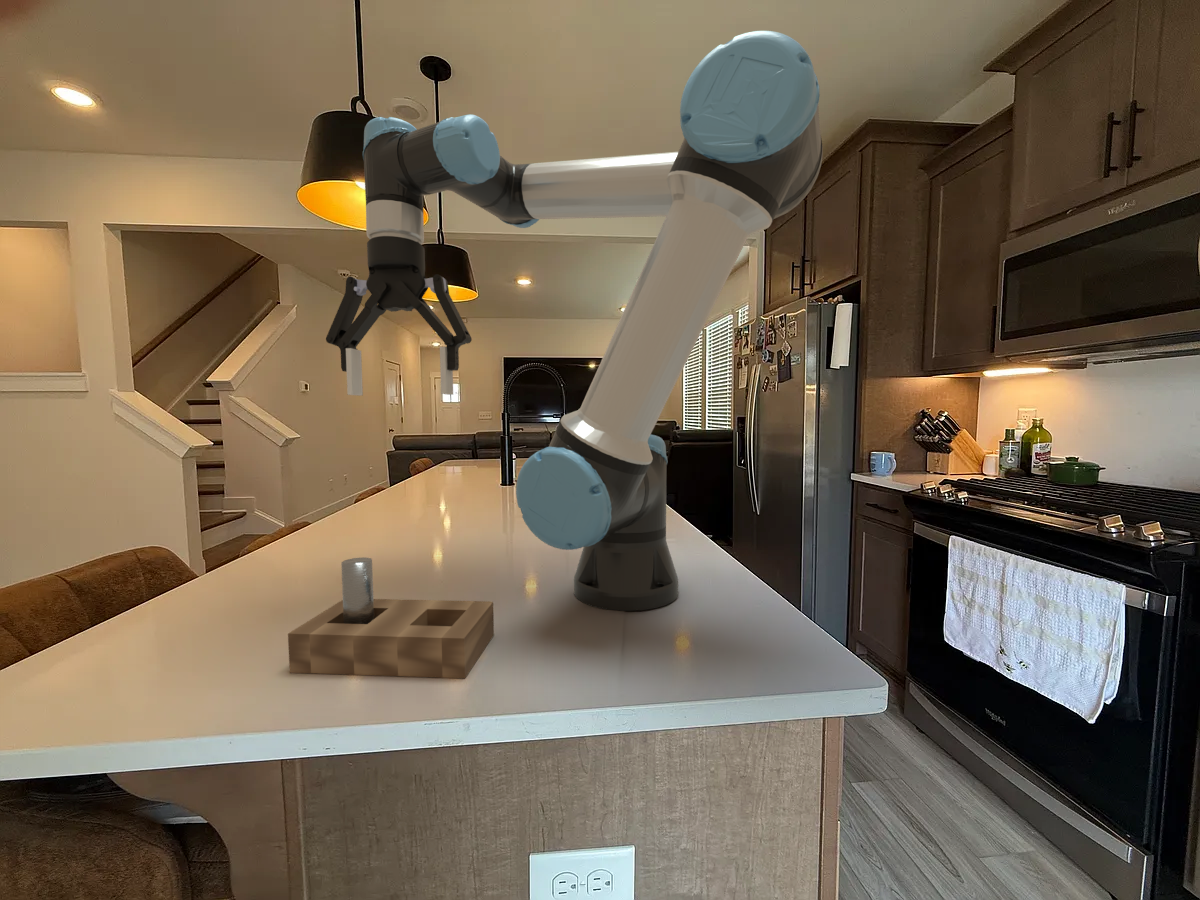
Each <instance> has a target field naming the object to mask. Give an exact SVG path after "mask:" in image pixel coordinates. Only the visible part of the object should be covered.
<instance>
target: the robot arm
mask: <svg viewBox="0 0 1200 900" xmlns="http://www.w3.org/2000/svg"><path fill="white" fill-rule="evenodd" d="M685 83H686V84H685V86H684V89H683V92H682V95H681V100H680V105H679V114H680V117H679V119H680V123H679V124H680V129H681V131H682V135H683V141H682V143H681V144H680V147H679V149H678V151H672V152H657V153H645V154H632V155H620V156H609V157H607V156H606V157H596V158H595V157H594V158H585V159H584V158H581V159H572V160H559V161H557V160H556V161H546V162H545V161H544V162H536V163H534V162H533V163H519V164H518V163H516V164H514V163H511V162H510V161H508V160H507V159H505V158H504V157H502V156H501V154H500V147H499V145H498V141H497V138H496V136H495V134H494V132H492V131H491V130H490V127H489V124H488V123H487V122H486V121H485V120H484V119H483V118H481V117H479V116H478V115H475V114H472V113H471V114H465V115H461V116H457V117H453V116H451V117H448V118H446V117H445V118H444V119H442V120H440V121H438V122H434V123H432V124H429V125H425V126H423V127H420V128H418V129H417V128H416V127H415V126H414V125H413V124H411V123H410V122H408V121H406V120H403V119H401V118H397V117H393V116H389V117H388V118H387V117H382V116H378V117H375V118H372V119H370V120H369V121H368V122H367V123H366V125H365V126H364V131H363V151H362V159H363V168H364V169H363V170H364V172H363V173H364V191H365V195H364V196H365V225H366V226H365V227H366V237H367V238H368V239H369V240H368V241H367V243H366V249H367V253H366V254H367V256H366V257H367V267H368V272H369V273H368V277H367V279H366V280H365V279H357V278H355V277H353V276H348V277H347V278H346V280H345V290H344V291H345V292H344V295H343V297H342V299H341V302H340V304H339V306H338V309H337V311H336V313H335V316H334V319H333V321H332V323H331V325H330V328H329V330H328V333H327V335H326V338H325V341H326V343H328V344H330V345H333V346H336V347H338V348H339V351H340V368H341V371H342V372H345V373H346V388H347V395H348V396H359V397H360V396H363V394H364V391H363V369H362V368H363V367H362V366H363V365H362V362H363V361H362V350H360V349H358V348H357V347H358V345H360V343H361V341H362V340H363V339H364V337H365V336H366V335H367V333H368V332H369V331H370V329H372V327H373V326H374V325H375V323H376V322H377V320H378V319H379V318H380V317H381V316H382V315H384V314H385V313H386V311H388V312H399V311H404V312H412V311H413V310H416V311H417V313H418V314H419V315H420V316H421V317H422V319H424V320H425V322H426V323H427V324H428V325H429V326H430V327H431V329H433V331H434V333H436V335H437V336H438V337H439V338H440V339H441V341H442V342H443V343H444V346H439V363H440V364H439V367H440V369H439V371H440V394H441V395H451V396H452V395H454V373H453V372H455V371H459V368H460V361H459V359H460V357H459V355H460V354H459V353H460V351H459V350H460V347H461V346H464V345H466V344H468V345H469V344H470V343H472V340H473V339H472V336H471V334H470V332H469V331H468V328H467V326H466V324H465V322H464V320H463V319H462V316H461V315H460V313H459V311H458V309H457V306H456V304H455V303H454V301H453V299H452V296H451V294H450V290H449V282H448V280H447V279H446V278H444V277H443V276H442V275H440V274H438V273H436V274H434V275H433V276H432V277H429V278H426V275H425V272H426V261H425V258H426V255H425V254H426V253H425V252H426V251H425V250H426V249H425V247H424V246H423V244H424V242H425V234H424V233H425V229H424V228H425V227H424V226H425V225H424V196H429V195H433V194H439V193H442V192H445V191H451V192H452V193H455V194H456V195H458V196H460V197H462V198H464V200H467V201H468V202H470V203H471V204H474V205H476V206H477V207H480V208H481V209H483V210H485V211H486V212H487V213H490V214H492V215H493V216H494V217H496V218H498V219H499V220H500V221H502V222H503V223H505V224H507V225H511V226H514V227H516V228H520V229H526V228H531V226H533V225H534V224H536V223H537V222H538V221H539V220H560V219H563V220H565V219H606V218H607V219H609V218H610V219H611V218H650V217H651V218H653V217H654V218H656V217H658V218H659V217H660V218H661V217H662V218H663V217H665V219H664V220H663V223H662V225H661V228H660V230H659V232H658V234H657V235H656V239H655V241H654V243H653V246H652V247H651V250H650V252H649V254H648V256H647V258H646V260H645V264H644V265H643V267H642V270H641V272H640V274H639V277H638V278H637V281H636V283H635V285H634V288H633V289H632V292H631V294H630V297H629V298H628V302H626V305H625V307H624V310H623V312H622V314H621V316H620V319H619V320H618V323H617V325H616V327H615V330H614V332H613V334H612V336H611V339H610V341H609V343H608V345H607V348H606V350H605V352H604V355H603V357H602V358H601V361H600V363H599V366H598V368H597V370H596V372H595V374H594V377H593V379H592V381H591V383H590V385H589V387H588V390H587V392H586V394H585V396H584V399H583V401H582V403H581V406H580V408H578V410H574V411H572V412H568V413H566V414H564V415H563V416H561V418H560V421H559V423H558V425H557V428H556V429H555V432H554V434H553V436H552V439H551V440H550V443H549V445H548V446H546V447H544V448H542V449H540V450H538V451H536V452H534V453H533V454H532V455H530V456H529V457H528V458H527V460H526V461H525V462H524V463H523V465H522V466H521V468H520V470H519V472H518V475H517V479H516V487H515V496H516V503H517V507H518V508H520V509H519V510H520V512H521V514H522V516H521V518H522V519H523V521H524V523H525V525H526V526H527V528H528V529H529V530H530V531H531V533H532V534H533V535H534V536H535V537H536V538H538V539H539V540H540V541H542V542H543V543H544V544H546V545H547V546H550V547H552V548H555V549H559V550H563V551H564V550H568V551H569V550H573V551H574V550H579V549H581V548H582V551H581V555H580V558H579V561H578V564H577V567H576V570H575V574H574V579H573V595H574V596H575V598H576V599H577V600H578V601H580V602H581V603H583V604H586V605H588V606H590V607H594V608H597V609H603V610H608V611H609V610H611V611H619V612H621V611H623V612H625V611H626V612H627V611H629V612H631V611H634V612H635V611H646V610H652V609H657V608H661V607H664V606H667V605H669V604H671V603H673V602H674V601H675V600H676V599H678V596H679V578H678V574H677V571H676V568H675V565H674V561H673V558H672V556H671V555H672V554H671V552H670V550H669V546H668V543H667V465H668V456H667V446H666V443H665V441H664V440H663V438H662V437H660V436H658V435H655V434H652V433H653V431H654V429H655V427H656V424H657V422H658V420H659V418H660V416H661V414H662V412H663V410H664V408H665V406H666V404H667V402H668V400H669V398H670V396H671V394H672V392H673V390H674V388H675V386H676V383H677V382H678V381H679V378H680V376H681V373H682V371H683V369H684V367H685V365H686V363H687V362H688V359H689V357H690V355H691V354H692V351H693V349H694V348H695V345H696V343H697V341H698V339H699V337H700V335H701V333H702V331H703V329H704V327H705V325H706V323H707V321H708V319H709V316H710V315H711V313H712V311H713V309H714V307H715V305H716V303H717V301H718V299H719V296H720V294H721V293H722V290H723V288H724V287H725V284H726V283H727V280H728V278H729V276H730V275H731V272H732V270H733V268H734V266H735V264H736V262H737V260H738V258H739V256H740V254H741V252H742V249H743V248H744V247H745V243H746V242H747V240H748V239H749V237H750V236H752V235H755V234H756V233H757V234H758V233H760V232H762V231H764V230H766V229H769V227H771V226H772V223H773V221H774V219H777V218H779V217H781V216H783V215H785V214H787V213H790V211H792V210H793V209H794V208H796V207H797V206H798V205H800V203H801V202H802V201H803V200H804V199H805V198H806V196H807V195H808V194H809V193H810V192H811V190H812V188H813V187H814V184H815V183H816V181H817V179H818V177H819V173H820V170H821V167H822V162H823V142H822V141H823V140H822V134H821V125H820V113H819V112H820V110H819V109H820V108H819V102H820V95H821V94H820V84H819V81H818V77H817V75H816V73H815V69H814V65H813V61H812V59H811V58H810V55H809V53H808V52H807V51H806V49H805V48H804V47H803V46H802V45H801V43H799V42H798V41H797V40H795V39H794V38H792V37H791V36H789V35H787V34H784V33H782V32H778V31H773V30H753V31H749V32H744V33H741V34H738V35H735V36H734V37H733V38H732V39H731V40H729V41H727V42H725V43H724V44H722V43H721V44H719V45H717V46H716V47H714V48H713V49H712V50H711V51H710V52H708V53H707V54H706V55H705V56H704V57H703V58H702V59H701V61H699V63H698V64H697V65H696V67H695V68H694V69H693V71H692V72H691V74H690V76H689V78H688V79H687V82H685ZM428 289H429V290H430V291H431V292H432V293H434V295H435V296H436V298H437V300H438V302H439V304H440V306H441V308H442V310H443V312H444V314H445V316H446V317H447V320H448V322H449V323H450V326H451V328H452V330H453V331H454V334H455V335H454V334H453V333H452V332H451V331H450V330H449V329H448V327H447V326H446V325H445V324H444V322H443V321H442V320H441V319H440V318H439V317H438V316H437V315H436V313H435V312H434V311H433V310H432V309H431V307H430V305H429V304H428V303H427V302H426V300H425V299H424V296H425V294H426V292H427V291H428ZM367 291H369V293H370V295H369V297H368V298H367V300H366V301H365V303H364V308H362V309H361V311H360V313H358V311H359V309H360V306H361V303H362V301H363V298H364V297H363V296H365V295H366V294H367ZM357 313H358V315H357ZM356 315H357V316H356Z"/></svg>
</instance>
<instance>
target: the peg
mask: <svg viewBox="0 0 1200 900" xmlns="http://www.w3.org/2000/svg"><path fill="white" fill-rule="evenodd" d="M340 566H341V584H342V585H341V586H342V588H341V589H342V590H341V591H342V592H341V593H342V600H343V618H344V624H368V623H370V622H371V621H372V620H374V601H373V599H374V576H373V558H371V557H353V558H349V559H345V560H343V561H341V565H340Z"/></svg>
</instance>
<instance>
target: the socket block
mask: <svg viewBox="0 0 1200 900" xmlns="http://www.w3.org/2000/svg"><path fill="white" fill-rule="evenodd" d="M373 601H374V620H372V621H371V622H370V623H368V624H344V618H343V599H341V600H339V601H338V602H337V603H335V604H333V605H332V606H331V607H328V608H327V609H325V610H324V611H323V612H320V613H318V614H317V615H316V616H314V617H313V618H311V619H309V620H308V621H306V622H305V623H303V624H301V625H300V626H298V627H296V628H294V629H293V630H291V631H289V632H288V633H287V643H288V662H289V663H288V665H289V674H290V673H293V674H296V673H297V674H319V675H320V674H321V675H322V674H323V675H324V674H325V675H328V674H329V675H348V676H349V675H352V676H354V675H357V676H380V677H382V676H384V677H386V676H387V677H408V678H409V677H411V678H412V677H413V678H417V677H418V678H437V679H439V678H442V679H443V678H446V679H466V678H467V676H468V675H469V673H470V672H471V670H472V668H473V667H474V666H475V664H476V663H477V661H478V660H479V658H480V657H481V655H482V654H483V652H484V651H485V649H486V648H487V646H488V645H489V643H490V641H491V640H492V639H493V637H494V635H495V627H494V626H495V625H494V624H495V623H494V621H495V620H494V619H495V618H494V601H487V600H486V601H485V600H484V601H483V600H481V601H478V600H445V599H444V600H439V599H438V600H434V599H432V600H431V599H394V598H392V599H391V598H390V599H389V598H386V599H385V598H381V599H380V598H373Z"/></svg>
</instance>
